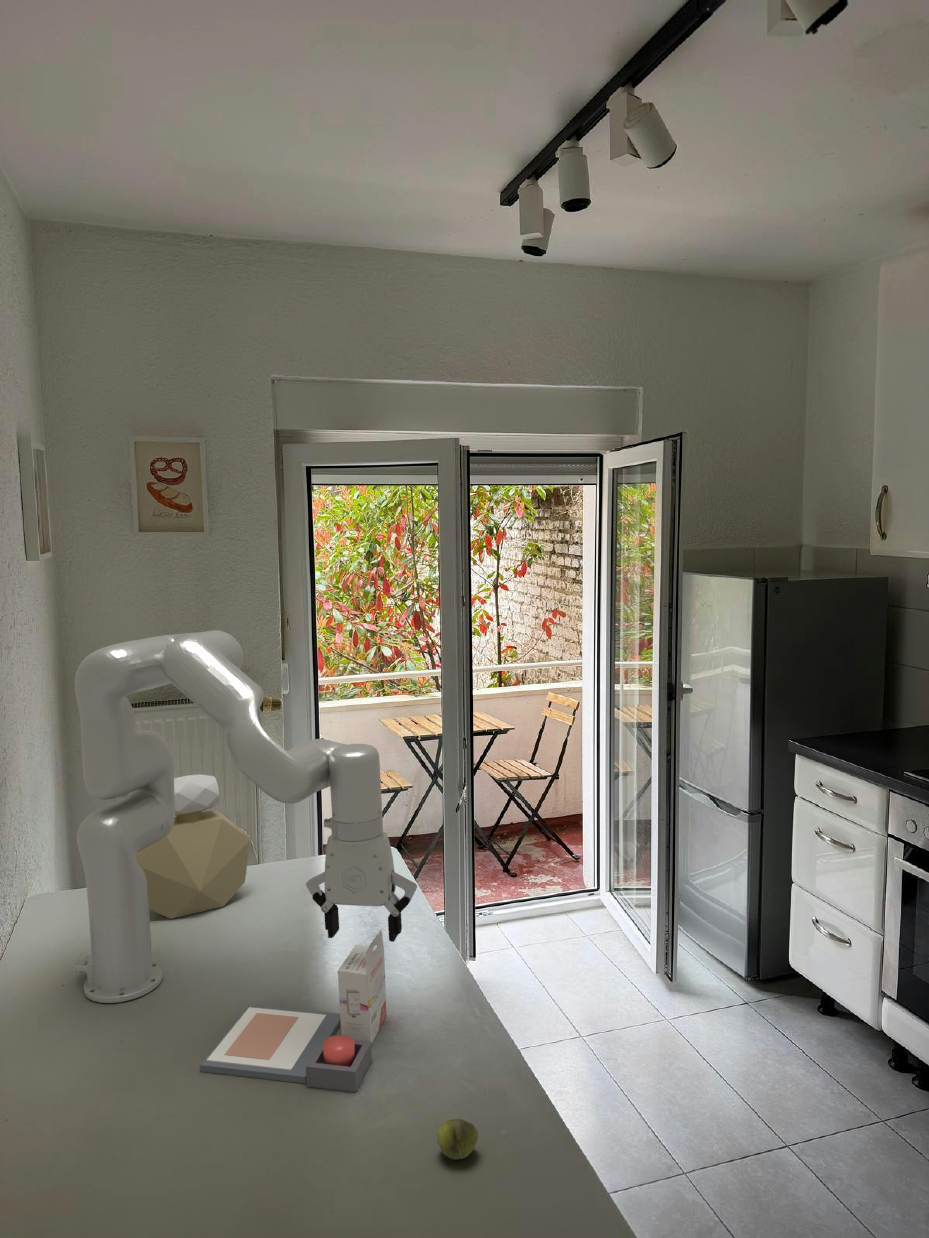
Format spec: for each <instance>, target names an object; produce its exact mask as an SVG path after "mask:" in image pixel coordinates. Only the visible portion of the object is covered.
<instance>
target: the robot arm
mask: <svg viewBox="0 0 929 1238" xmlns="http://www.w3.org/2000/svg"><path fill="white" fill-rule="evenodd" d="M243 663H244V651H243V649H242V646H241V644H240V642H239V641H238V640H237V639H236V638H235V637H234V636H233V635H231V634H230V633H228V632H226V631H222V630H218V629H216V630H207V631H199V632H187V633H175V634H165V635H156V636H152V637H145V638H141V639H134V640H128V641H123V642H119V643H114V644H111V645H107V646H104V647H102V648H101V647H100V648H98V649H96V650H95V651H93V652H91V653H90V654H88V655H87V656H86V657H85V658H83V660H82V661H81V662H80V663H79V666H78V667H77V670H76V672H75V677H74V692H75V698H76V703H77V707H78V712H79V720H80V721H79V722H80V741H81V742H80V743H81V761H82V775H83V782H84V786H85V788H86V791H87V792H88V794H89V795H90V796H91V797H93V798H94V799H97V800H101V801H105V800H113V799H117V798H120V797H123V796H125V795H127V796H126V797H123V798H121V799H118V800H115V801H112V802H111V803H108V804H106V805H104V806H102V807H99V808H97V809H95V810H94V811H92V812H91V813H89V814H88V815H87V816H86V817H85V818H84V819H83V820H82V822H80V824H79V826H78V828H77V832H76V844H77V848H78V853H79V856H80V859H81V862H82V866H83V870H84V875H85V876H84V877H85V884H86V894H87V906H88V908H87V909H88V920H89V935H90V950H91V955H89V954H88V955H87V954H79V955H78V956H77V958H76V961H75V963H76V964H75V965H74V968H73V971H74V973H76V974H85V975H86V976H87V979H86V980H85V982H84V984H83V993H84V995H85V997H86V998H87V999H89V1000H91V1001H93V1002H97V1003H100V1004H117V1003H122V1002H127V1001H131V1000H134V999H137V998H140V997H143V996H145V995H147V994H148V993H150V992H152V991H153V990H154V989H156V988H157V987H158V986H159V985H160V983H161V982H162V980H163V978H164V977H163V975H164V973H163V968H162V967H161V965H160V964H158V963H156V962H154V961H153V951H152V935H151V920H150V919H151V918H150V909H149V900H148V885H147V878H146V875H145V873H144V871H143V869H142V868H141V866H140V865H139V863H138V861H137V859H136V855H137V853H139V852H140V851H142V850H143V849H145V848H147V847H149V846H151V845H153V844H155V843H157V842H158V841H160V840H161V839H163V838H164V837H166V836H167V835H168V834H169V832H170V831H171V829H172V827H173V824H174V820H175V817H176V816H175V789H174V778H175V771H174V768H175V767H174V758H173V754H172V751H171V749H170V746H169V744H168V742H166V740H165V739H164V738H163V736H161V735H160V734H159V733H157V732H155V731H152V730H145V729H144V730H137V722H136V721H137V720H136V715H135V711H134V708H133V706H132V704H131V702H130V701H129V699H128V698H127V696H129V695H133V694H137V693H140V692H145V691H149V690H152V689H157V688H160V687H163V686H168V685H171V684H172V685H173V686H174V687H176V689H177V690H179V691H180V692H181V693H182V694H183V695H184V696H185V697H187V698H188V700H190V701H191V702H192V703H194V705H196V706H197V707H198V708H199V709H200V710H201V711H203V712H204V714H205V715H207V716H208V717H209V718H210V719H211V720H213V721H214V722H215V723H216V724H217V725H218V726H220V728H221V729H222V730H223V733H224V736H225V741H226V745H227V748H228V750H229V752H230V754H231V757H232V760H233V762H234V763H235V765H236V766H237V768H238V769H239V771H240V772H241V773H242V774H243V775H244V776H245V777H246V778H247V779H249V780H250V781H251V782H252V783H253V784H254V785H255V786H256V787H257V788H258V789H259V790H261V791H262V792H264V793H265V794H266V795H267V796H269V797H270V798H272V799H273V800H274V801H277V802H280V803H283V804H287V805H288V804H289V805H290V804H291V805H292V804H297V803H300V802H302V801H304V800H306V799H307V798H309V797H310V796H312V795H314V794H316V793H318V792H319V791H322V790H324V789H328V788H329V787H330V789H329V790H330V803H331V805H330V806H331V817H329V818H324V820H323V827H324V828H328V829H330V830H331V835H330V836H328V838H327V841H326V842H327V843H326V849H325V861H324V871H323V872H321V873H320V874H317V875H315V876H313V877H311V878H309V879H308V880H307V881H306V882H305V885H306V888H307V889H308V892H309V894H310V895H311V898H312V900H313V901H314V902H315V903H316V905H318V906H319V907H320V911H321V912H322V913H324V915H323V916H324V928H325V930H326V931H327V938H328V939H333V938H334V937H335V936H336V935H337V933H338V932H339V930H340V916H339V914H340V913H339V906H338V905H340V906H354V907H355V906H359V907H383V906H384V907H385V909H387V911H388V912H389V915H388V916H387V928H388V930H387V931H388V941H389V942H391V943H392V942H395V941H396V940H397V938H398V935H399V934H401V933H402V931H403V930H402V928H403V927H402V925H403V924H402V912H403V911H404V910H405V908H406V907H407V906H408V905H409V904H410V902H411V901H412V900H413V897H414V895H415V893H416V890H417V888H418V885H417V883H415V882H414V881H411V880H410V879H408V878H406V877H404V876H402V875H400V874H399V873H397V872H396V871H395V864H394V857H393V852H392V847H391V843H390V839H389V836H388V833H387V832H384V821H383V818H384V817H383V802H382V800H383V799H382V783H381V782H382V781H381V763H380V760H381V759H380V754H379V751H378V749H377V747H375V746H374V745H371V744H366V743H350V744H349V743H348V744H346V743H342V742H338V741H333V740H330V739H323V738H316V739H315V738H313V739H310V740H307V741H306V742H303V743H301V744H299V745H297V746H293V748H290V749H288V750H286V749H285V748H283V747H282V746H281V745H280V744H279V743H278V742H276V740H274V739H273V738H272V737H271V736H270V735H269V734H268V733H267V731H265V729H264V727H263V725H261V722H260V719H259V715H258V713H259V710H260V708H261V707H262V704H263V701H264V691H263V688H262V687H261V686H260V685H259V684H257V683H256V682H255V681H254V680H253V679H252V678H251V677H250V676H248V675H247V674H246V673H245V672H243V671H242V670H241V668H242V666H243ZM322 884H324V891H323V890H322V889H321V887H320V885H322ZM396 887H398V888H399V889H402V890H404V894H403V896H402V897H401V898H399V897H398V895H397V894H396V890H397V889H396Z"/></svg>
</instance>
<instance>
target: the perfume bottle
mask: <svg viewBox="0 0 929 1238" xmlns="http://www.w3.org/2000/svg"><path fill="white" fill-rule="evenodd" d="M174 789H175V820H174V824H173V827H172V829H171V831H170V832H169V834H168V835H167V836H166V837H164V838H163V839H161V840H160V841H158V842H157V843H155V844H153V845H151V846H149V847H147V848H145V849H143V850H142V851H140V852H139V853H137V855H136V859H137V861H138V863H139V865H140V866H141V868H142V869H143V871H144V873H145V875H146V878H147V885H148V900H149V910H150V911H153V912H155V913H157V914H159V915H160V916H163V917H165V918H167V919H169V920H173V919H176V918H177V917H178V918H181V916H182V917H185V916H191V915H194V914H198V913H202V912H207V911H210V910H214V909H218V908H223V907H225V906H226V905H227V904H228V902H229V901H230V900H232V898H233V897H234V895H235V894H236V893H237V892H238V890H240V888H241V887H242V886H243V884H244V883H246V875H247V870H248V869H247V868H248V860H249V855H250V853H249V852H250V848H251V847H250V846H251V839H252V838H251V836H250V835H249V834H248V833H246V832H245V831H244V830H243V829H241V828H240V827H238V826H237V825H236V824H235V823H234V822H232V821H231V820H230V819H228V818H227V817H226V816H225V815H224V814H222V813H221V812H220V811H218V810H217V809H212V808H214V807H217V806H218V805H219V802H220V790H219V785H218V781H217V778H216V776H213V775H208V774H201V773H200V774H190V775H183V776H179V777H174ZM210 809H211V810H210ZM178 918H177V919H178Z"/></svg>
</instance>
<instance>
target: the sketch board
mask: <svg viewBox="0 0 929 1238" xmlns="http://www.w3.org/2000/svg"><path fill="white" fill-rule="evenodd" d="M340 1028H341V1021H340V1012H339V1013H338V1012H328V1011H327V1012H326V1011H317V1010H307V1009H296V1008H287V1007H275V1006H265V1005H257V1004H256V1005H255V1004H248V1005H247V1007H246V1008H245V1009H244V1010H243V1011H242V1013H241V1014H240V1015H239V1017H238V1018H237V1019H236V1020H235V1021H234V1023H233V1024H232V1025H231V1026H230V1028H229V1029H228V1030H227V1032H226V1033H225V1034H224V1035H223V1036H222V1038H221V1039H220V1040H219V1041H218V1042H217V1043H216V1045H215V1046H214V1047H213V1049H212V1050H210V1052H209V1054H208V1055H207V1056H206V1057H204V1058H205V1059H203V1061H202V1062H201V1063H200V1064H199V1065H200V1068H199V1069H200V1072H201V1073H210V1074H218V1075H227V1076H234V1077H235V1076H237V1077H244V1078H253V1079H262V1080H271V1081H280V1082H286V1083H287V1082H288V1083H295V1084H296V1083H297V1084H306V1085H307V1083H306V1065H307V1064H308V1062H309V1061H310V1059H311V1057H312V1056H313V1054H314V1052H315V1051H316V1049H317V1048H318V1046H319V1044H320V1043H321V1041H322V1039H323V1038H324V1037H332V1036H335V1035H337V1034H336V1033H337V1032H338V1030H339V1029H340Z"/></svg>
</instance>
